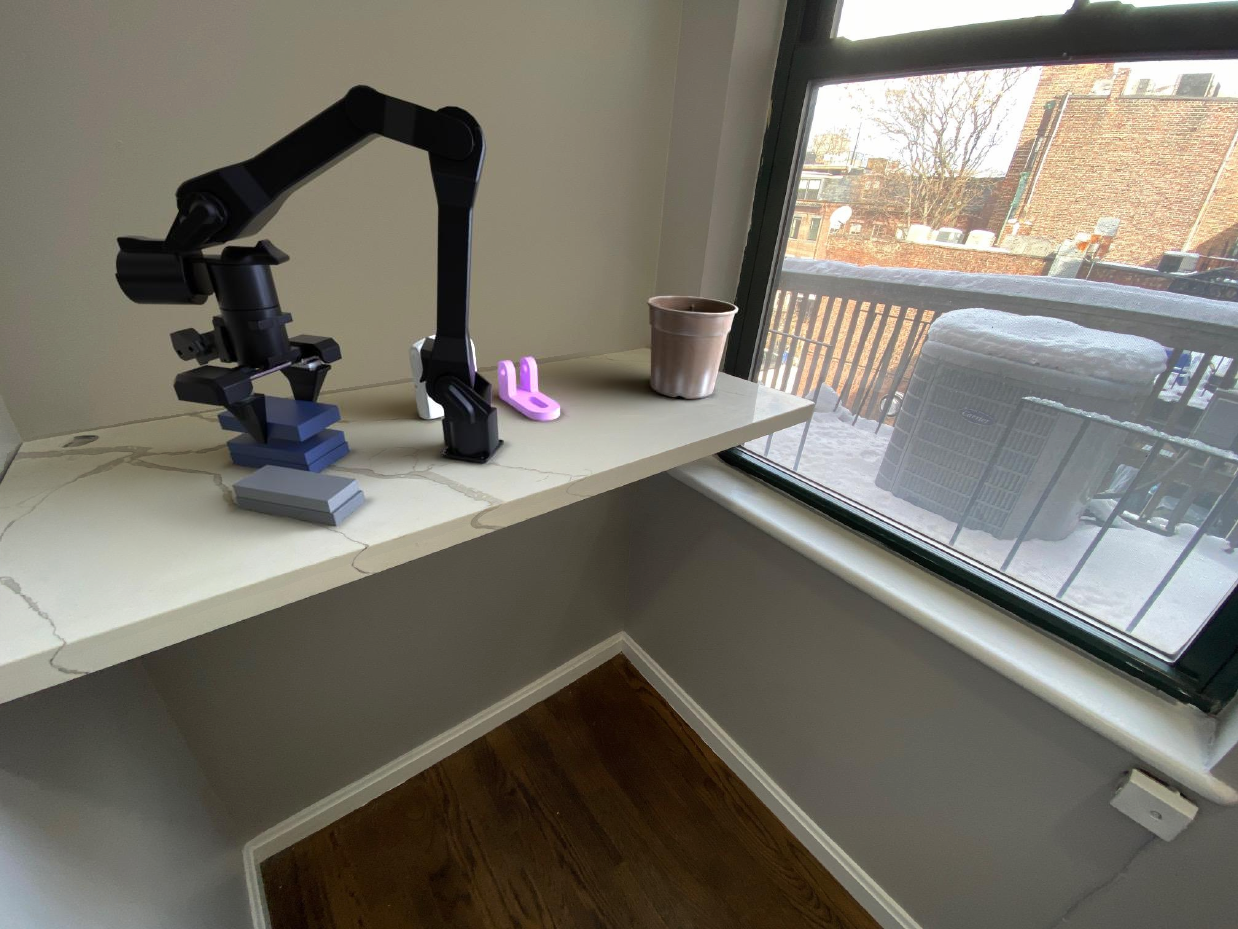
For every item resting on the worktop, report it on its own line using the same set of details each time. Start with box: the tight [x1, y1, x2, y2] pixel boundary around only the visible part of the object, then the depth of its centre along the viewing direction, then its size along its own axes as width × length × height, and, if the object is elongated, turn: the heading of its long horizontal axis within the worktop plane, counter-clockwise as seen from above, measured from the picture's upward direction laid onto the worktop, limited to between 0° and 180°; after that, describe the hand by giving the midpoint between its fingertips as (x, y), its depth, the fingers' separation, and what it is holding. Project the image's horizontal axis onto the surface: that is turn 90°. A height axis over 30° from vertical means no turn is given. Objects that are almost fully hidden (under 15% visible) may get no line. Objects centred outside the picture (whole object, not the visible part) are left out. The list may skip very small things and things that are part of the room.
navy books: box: [226, 427, 351, 473], centre depth 66 cm, size 11×7×3 cm, turn 79°
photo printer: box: [408, 334, 478, 420], centre depth 80 cm, size 10×4×12 cm, turn 140°
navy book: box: [216, 395, 342, 442], centre depth 64 cm, size 11×7×2 cm, turn 79°
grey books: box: [231, 465, 366, 526], centre depth 57 cm, size 12×5×3 cm, turn 79°
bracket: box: [497, 356, 561, 422], centre depth 85 cm, size 13×6×7 cm, turn 38°
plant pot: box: [646, 295, 739, 400], centre depth 95 cm, size 16×16×16 cm
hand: (285, 431), depth 65 cm, fingers closed on navy book, 7 cm apart
